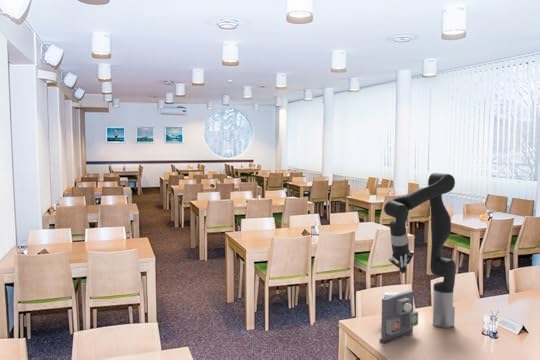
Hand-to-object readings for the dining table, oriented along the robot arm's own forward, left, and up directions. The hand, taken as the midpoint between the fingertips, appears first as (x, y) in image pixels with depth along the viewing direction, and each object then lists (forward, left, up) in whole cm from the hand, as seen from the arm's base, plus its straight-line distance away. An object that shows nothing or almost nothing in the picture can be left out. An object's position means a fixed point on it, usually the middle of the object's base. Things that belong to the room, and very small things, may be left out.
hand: (403, 272), depth 230 cm
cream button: (+4, +13, -14) cm, 20 cm away
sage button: (-1, +8, -22) cm, 23 cm away
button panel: (+6, +10, -28) cm, 30 cm away
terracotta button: (+11, +15, -22) cm, 29 cm away
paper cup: (0, -12, -28) cm, 31 cm away
